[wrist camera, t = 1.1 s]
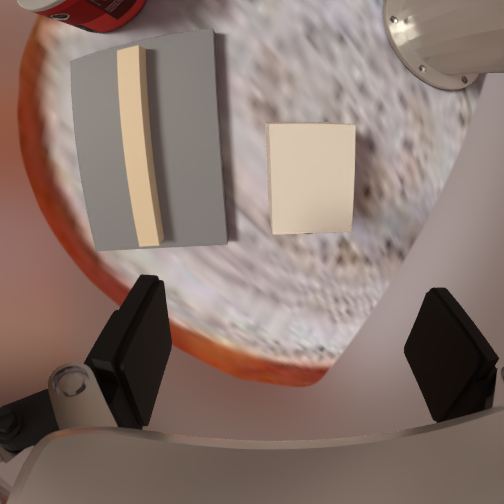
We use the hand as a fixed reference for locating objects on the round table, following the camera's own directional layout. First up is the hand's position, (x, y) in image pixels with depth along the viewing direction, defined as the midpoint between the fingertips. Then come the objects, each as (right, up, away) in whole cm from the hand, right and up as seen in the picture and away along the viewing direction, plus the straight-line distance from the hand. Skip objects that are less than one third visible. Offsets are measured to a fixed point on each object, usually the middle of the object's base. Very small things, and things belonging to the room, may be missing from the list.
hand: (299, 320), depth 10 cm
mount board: (-11, +12, +16) cm, 23 cm away
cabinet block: (+3, +10, +17) cm, 20 cm away
